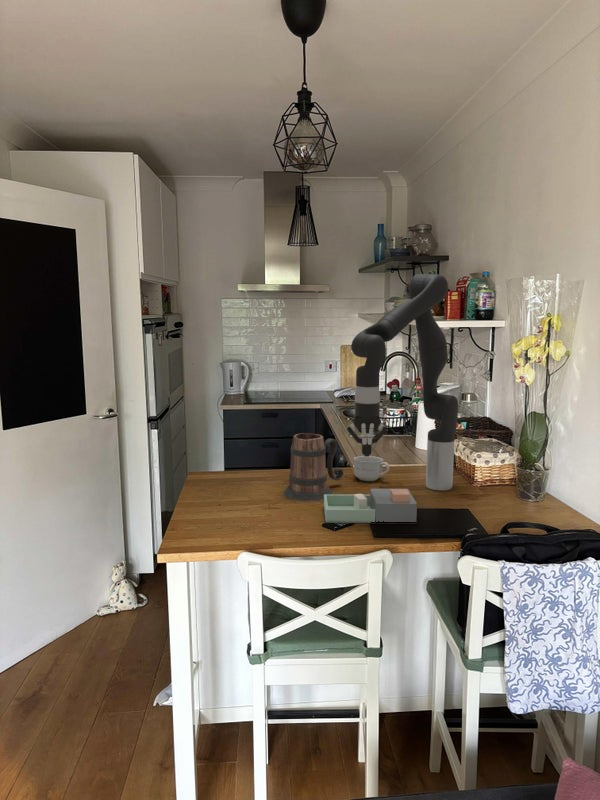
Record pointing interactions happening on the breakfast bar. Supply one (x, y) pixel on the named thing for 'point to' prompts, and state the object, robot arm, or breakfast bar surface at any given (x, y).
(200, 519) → the breakfast bar surface
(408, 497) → the terracotta tile
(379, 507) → the grey drawer casing
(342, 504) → the box
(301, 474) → the tankard
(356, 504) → the cream tile
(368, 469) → the teacup
